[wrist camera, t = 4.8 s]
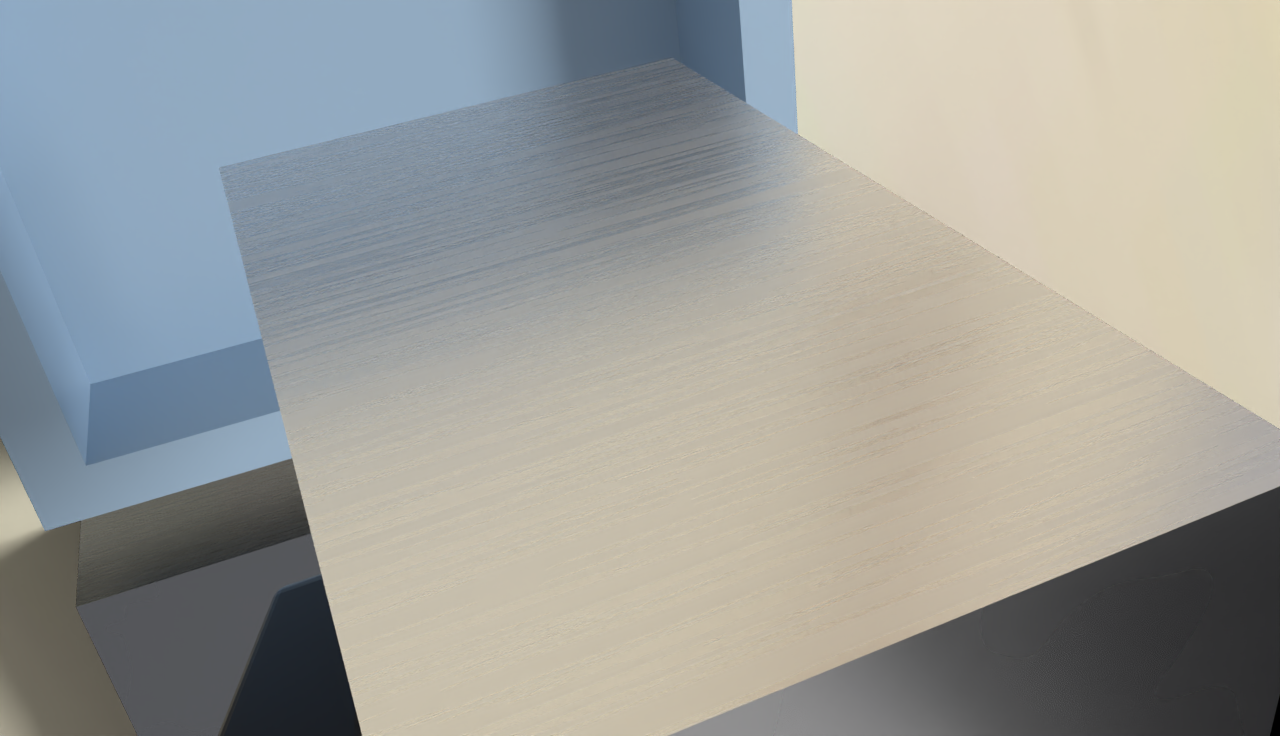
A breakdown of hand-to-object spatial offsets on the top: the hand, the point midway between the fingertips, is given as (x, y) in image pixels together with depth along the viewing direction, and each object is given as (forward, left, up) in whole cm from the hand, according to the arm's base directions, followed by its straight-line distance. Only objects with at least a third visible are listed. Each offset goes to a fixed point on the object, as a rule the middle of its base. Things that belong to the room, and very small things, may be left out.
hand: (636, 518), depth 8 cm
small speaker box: (0, 0, -4) cm, 4 cm away
